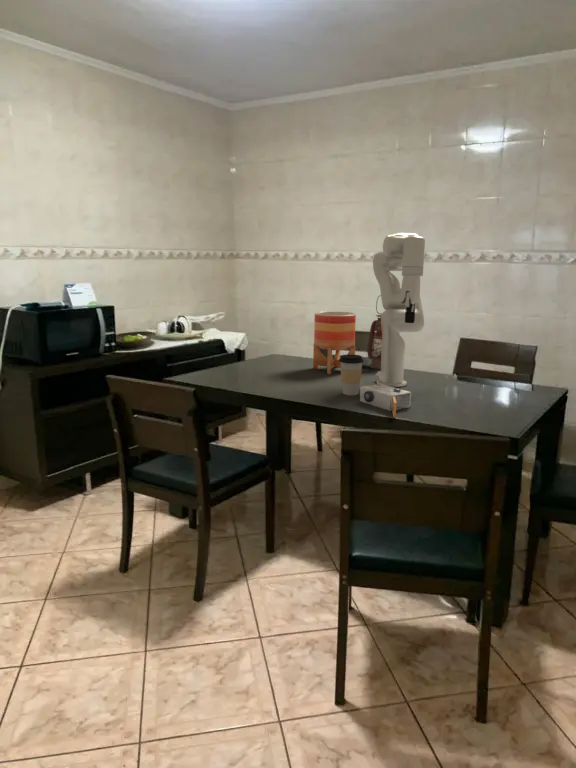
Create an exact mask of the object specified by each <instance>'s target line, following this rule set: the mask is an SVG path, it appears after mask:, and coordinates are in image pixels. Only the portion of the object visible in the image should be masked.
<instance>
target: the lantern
mask: <svg viewBox="0 0 576 768" xmlns="http://www.w3.org/2000/svg"><path fill="white" fill-rule="evenodd" d="M380 297H381V294H380V295H378V296H377V298H376V299H377V300H376V304H375V310H376V313H377V314H376V315H375V317H377V319H375V320H373V321H372V323H371V325H370V331H369V334H368V339H367V340H368V341H367V351H366V352H367V356H368V357H369V359H370V360H371V363H370V364H369V367H370V369H372V370H373V369H374V370H381V355H382V327H381V315H382V313H379V312H378V306H377V305H378V301H379V298H380ZM375 333H376V334H375ZM373 352H374V353H373Z"/></svg>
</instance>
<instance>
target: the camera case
mask: <svg viewBox="0 0 576 768" xmlns="http://www.w3.org/2000/svg"><path fill="white" fill-rule="evenodd" d="M359 389H360V390H359V402H361V403H364V404H367V405H370V404H371V405H370V406H374V407H376V406H377V407H376V408H379V407H380V409H382V408H383V409H382V410H385V409H386V411H388V410H389V411H388V412H391V411H392V396H395V399H396V402H397V405H396V411H397V410H403V409H407V408H411V405H412V404H411V403H412V392H411V391H408V390H405V389H401V388H399V387H390V386H387V385H383V384H377V383H376V384H369V385H363V386H359ZM402 408H403V409H402Z"/></svg>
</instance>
